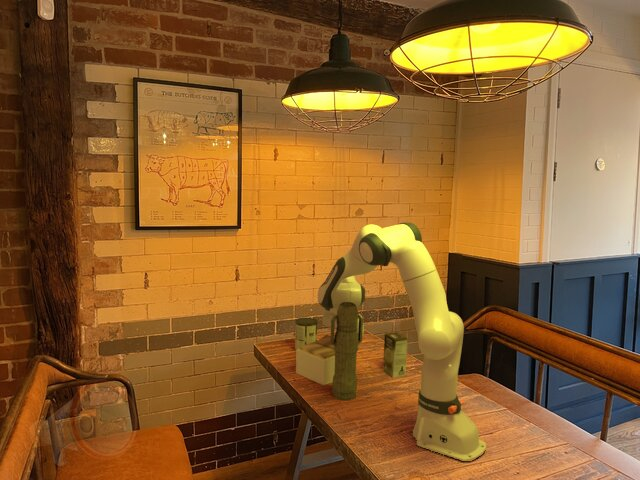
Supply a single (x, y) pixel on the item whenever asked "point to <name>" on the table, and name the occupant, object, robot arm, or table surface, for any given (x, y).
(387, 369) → the coffee box
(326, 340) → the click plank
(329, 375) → the display stand
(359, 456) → the table surface
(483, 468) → the table surface
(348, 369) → the thermos
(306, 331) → the coffee can
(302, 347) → the laid board
